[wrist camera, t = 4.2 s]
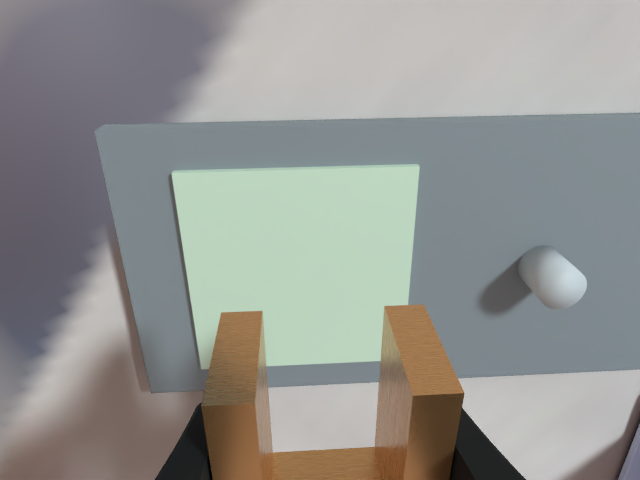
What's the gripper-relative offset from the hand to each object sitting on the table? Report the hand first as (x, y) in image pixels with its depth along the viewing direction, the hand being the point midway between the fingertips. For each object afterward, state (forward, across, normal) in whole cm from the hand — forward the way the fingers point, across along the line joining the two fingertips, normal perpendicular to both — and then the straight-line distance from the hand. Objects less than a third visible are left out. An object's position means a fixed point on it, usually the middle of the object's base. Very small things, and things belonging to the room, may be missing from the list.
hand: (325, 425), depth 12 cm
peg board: (+9, -4, 0) cm, 10 cm away
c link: (+1, 0, 0) cm, 1 cm away
